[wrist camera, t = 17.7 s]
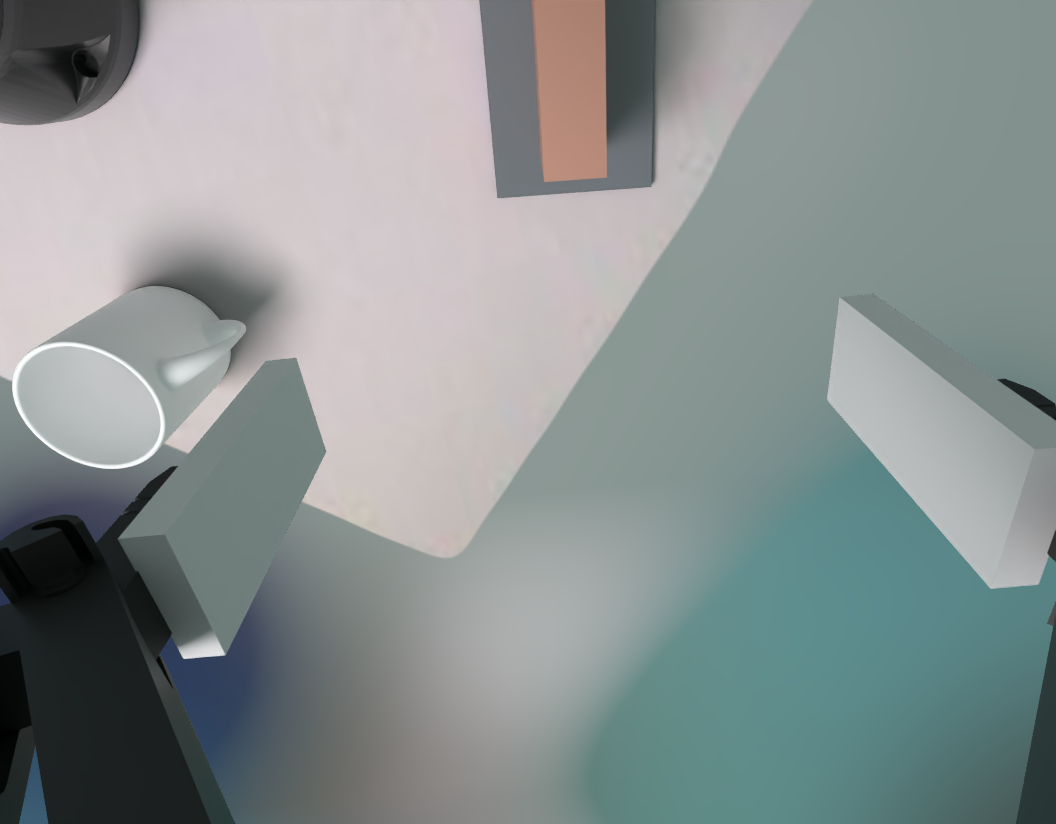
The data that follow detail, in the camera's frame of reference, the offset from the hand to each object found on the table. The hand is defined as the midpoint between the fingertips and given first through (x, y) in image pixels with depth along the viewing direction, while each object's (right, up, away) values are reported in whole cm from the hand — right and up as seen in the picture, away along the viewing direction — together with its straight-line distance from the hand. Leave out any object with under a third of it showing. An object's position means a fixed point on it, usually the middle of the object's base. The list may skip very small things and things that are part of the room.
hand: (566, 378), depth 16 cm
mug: (-25, +5, +32) cm, 41 cm away
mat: (+2, +20, +23) cm, 31 cm away
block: (+1, +13, +21) cm, 25 cm away
